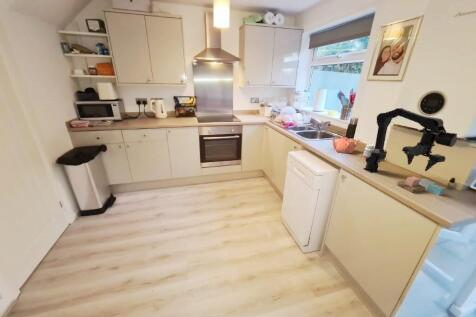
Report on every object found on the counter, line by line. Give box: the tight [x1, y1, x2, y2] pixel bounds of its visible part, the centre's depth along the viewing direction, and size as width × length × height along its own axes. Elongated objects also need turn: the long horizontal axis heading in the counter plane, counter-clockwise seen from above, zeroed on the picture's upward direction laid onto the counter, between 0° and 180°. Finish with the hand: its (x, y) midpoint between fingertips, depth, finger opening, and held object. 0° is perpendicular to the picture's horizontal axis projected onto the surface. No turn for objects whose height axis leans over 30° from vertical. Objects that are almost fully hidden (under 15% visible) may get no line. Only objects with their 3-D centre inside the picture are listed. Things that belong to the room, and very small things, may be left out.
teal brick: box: [426, 183, 447, 196], centre depth 113 cm, size 6×4×4 cm, turn 15°
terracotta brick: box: [405, 175, 422, 187], centre depth 116 cm, size 6×4×4 cm, turn 109°
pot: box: [330, 135, 361, 154], centre depth 178 cm, size 18×17×12 cm
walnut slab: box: [396, 180, 426, 194], centre depth 117 cm, size 9×9×3 cm
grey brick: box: [419, 178, 437, 190], centre depth 119 cm, size 6×4×4 cm, turn 16°
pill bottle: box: [362, 143, 375, 160], centre depth 161 cm, size 6×6×11 cm
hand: (417, 167), depth 115 cm, fingers open, 9 cm apart
